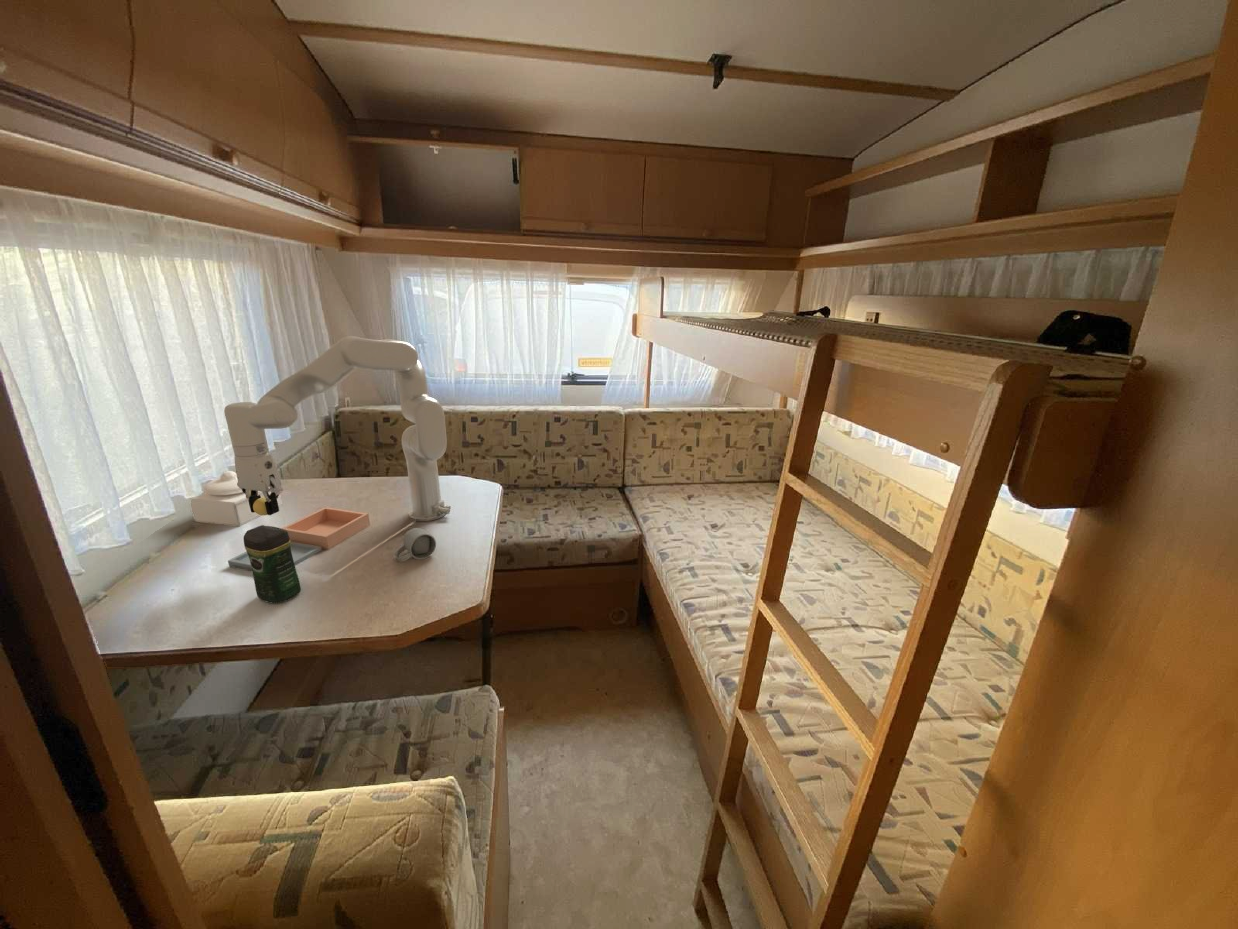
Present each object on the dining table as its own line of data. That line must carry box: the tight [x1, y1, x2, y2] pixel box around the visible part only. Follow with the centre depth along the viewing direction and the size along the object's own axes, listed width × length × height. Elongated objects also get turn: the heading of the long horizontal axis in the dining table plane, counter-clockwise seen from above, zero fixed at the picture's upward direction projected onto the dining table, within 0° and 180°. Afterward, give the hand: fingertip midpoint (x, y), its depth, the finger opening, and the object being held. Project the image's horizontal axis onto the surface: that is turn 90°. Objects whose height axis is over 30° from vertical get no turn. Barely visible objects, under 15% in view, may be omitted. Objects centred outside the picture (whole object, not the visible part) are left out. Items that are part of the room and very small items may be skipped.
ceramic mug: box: [394, 527, 437, 562], centre depth 147 cm, size 11×8×8 cm
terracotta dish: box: [281, 506, 371, 550], centre depth 158 cm, size 17×17×5 cm
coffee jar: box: [243, 524, 302, 604], centre depth 125 cm, size 10×8×19 cm
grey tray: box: [227, 542, 323, 572], centre depth 144 cm, size 18×14×2 cm
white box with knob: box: [190, 470, 284, 527], centre depth 171 cm, size 18×18×16 cm
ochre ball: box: [253, 497, 269, 516], centre depth 139 cm, size 5×5×5 cm
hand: (265, 511), depth 139 cm, fingers closed on ochre ball, 4 cm apart
